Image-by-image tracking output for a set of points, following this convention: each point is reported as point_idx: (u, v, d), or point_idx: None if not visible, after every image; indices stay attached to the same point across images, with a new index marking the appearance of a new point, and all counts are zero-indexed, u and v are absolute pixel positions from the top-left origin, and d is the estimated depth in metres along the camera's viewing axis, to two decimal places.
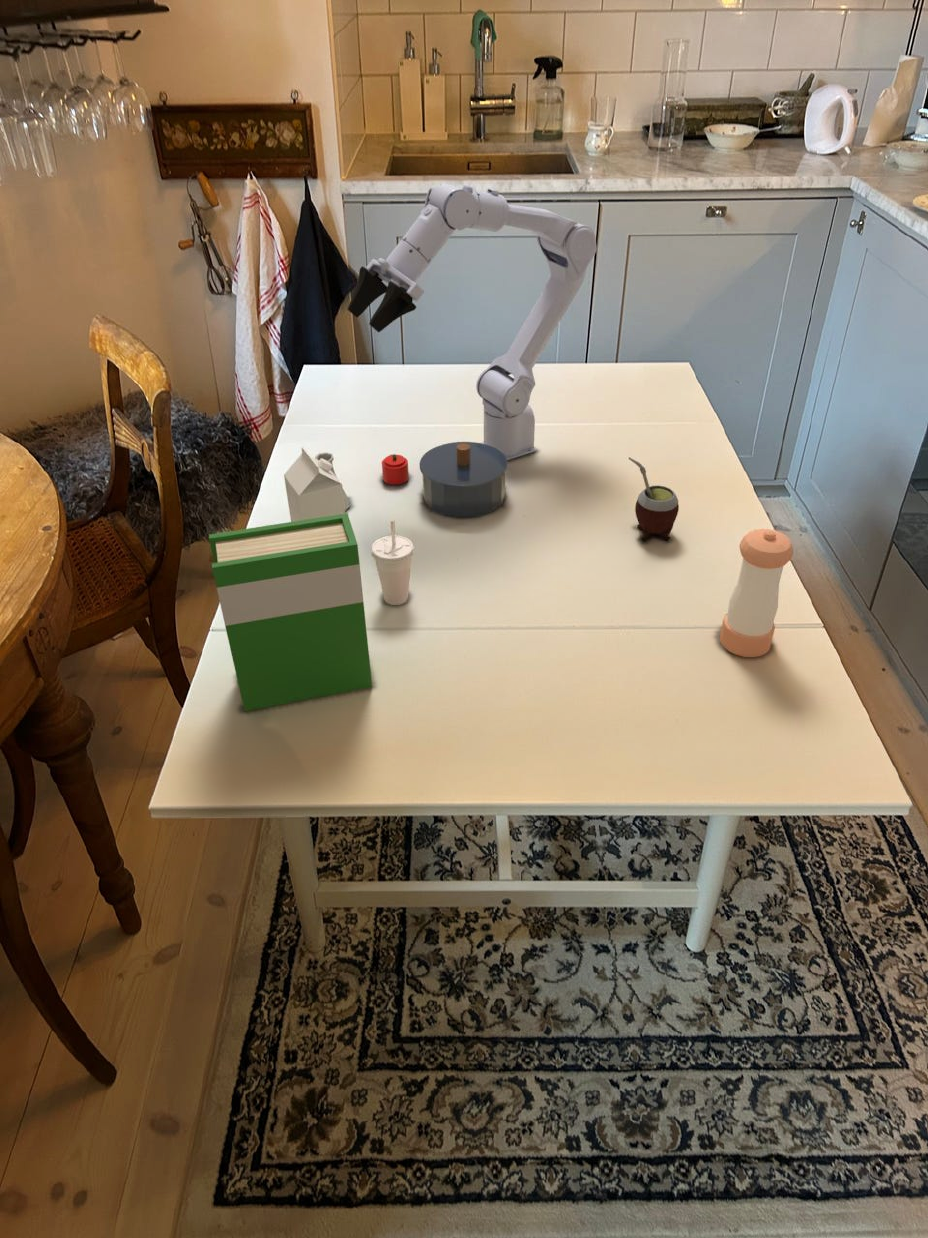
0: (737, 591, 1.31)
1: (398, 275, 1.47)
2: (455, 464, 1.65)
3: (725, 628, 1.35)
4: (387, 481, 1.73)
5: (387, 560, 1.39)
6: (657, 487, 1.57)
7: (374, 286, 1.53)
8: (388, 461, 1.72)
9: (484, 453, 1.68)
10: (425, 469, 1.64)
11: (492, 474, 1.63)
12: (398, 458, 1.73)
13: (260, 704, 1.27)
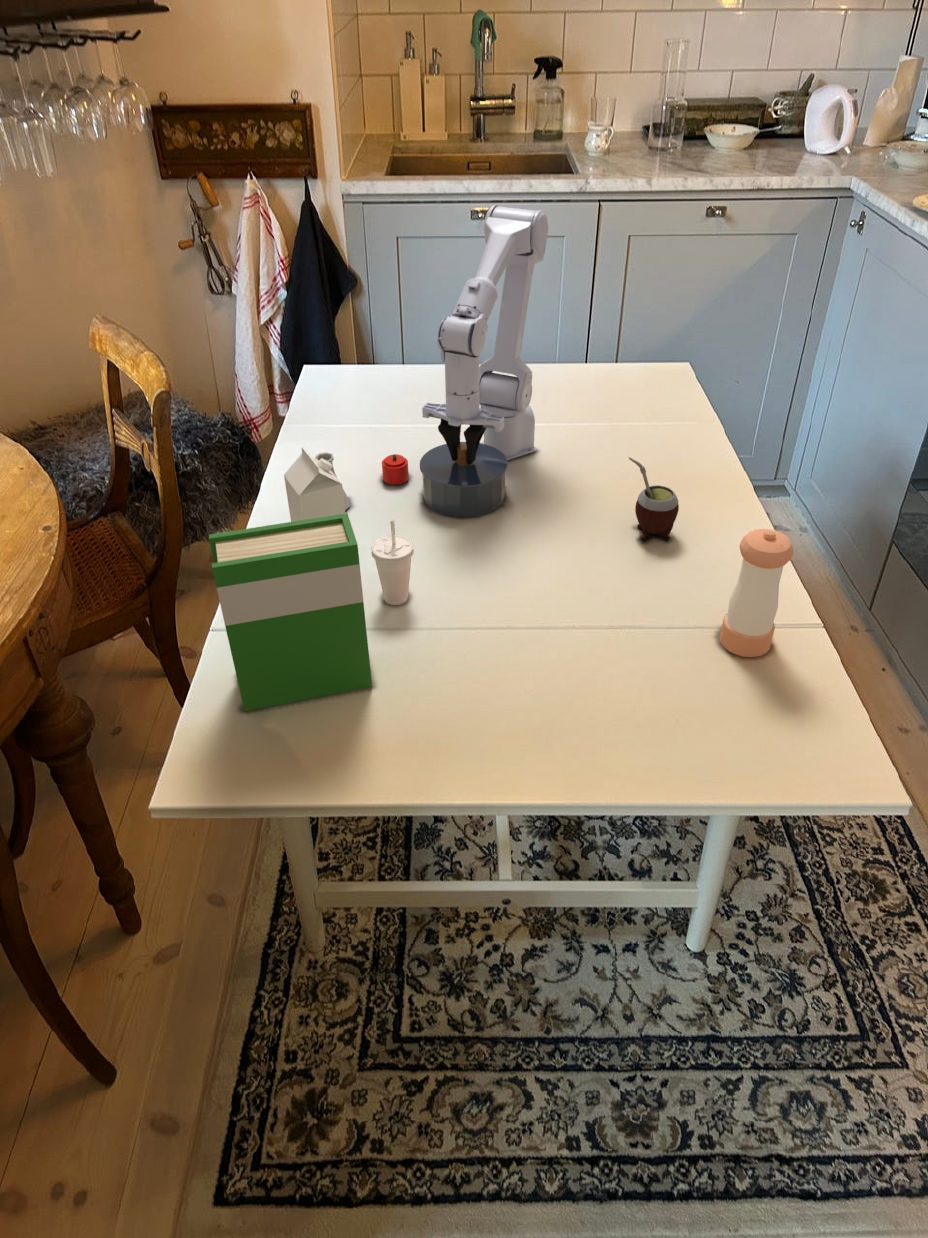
0: (737, 591, 1.31)
1: (476, 423, 1.58)
2: (455, 464, 1.65)
3: (725, 628, 1.35)
4: (387, 481, 1.73)
5: (387, 560, 1.39)
6: (657, 487, 1.57)
7: (456, 428, 1.63)
8: (388, 461, 1.72)
9: (484, 453, 1.68)
10: (425, 469, 1.64)
11: (492, 474, 1.63)
12: (398, 458, 1.73)
13: (260, 704, 1.27)
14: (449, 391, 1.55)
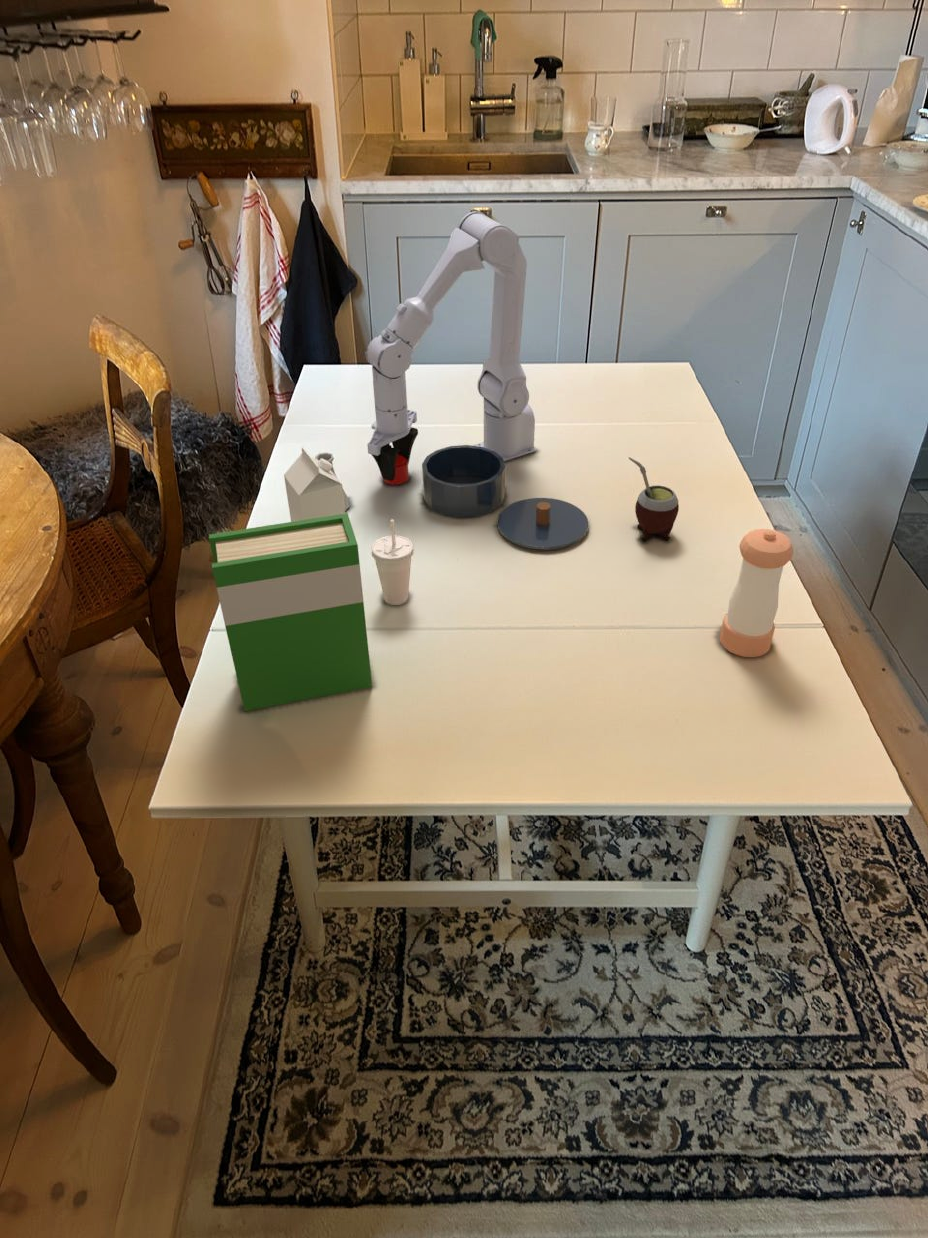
0: (737, 591, 1.31)
1: None
2: (534, 523, 1.61)
3: (725, 628, 1.35)
4: (387, 481, 1.73)
5: (387, 560, 1.39)
6: (657, 487, 1.57)
7: (401, 439, 1.72)
8: None
9: (563, 511, 1.64)
10: (504, 529, 1.59)
11: (574, 534, 1.58)
12: (398, 458, 1.73)
13: (260, 704, 1.27)
14: None
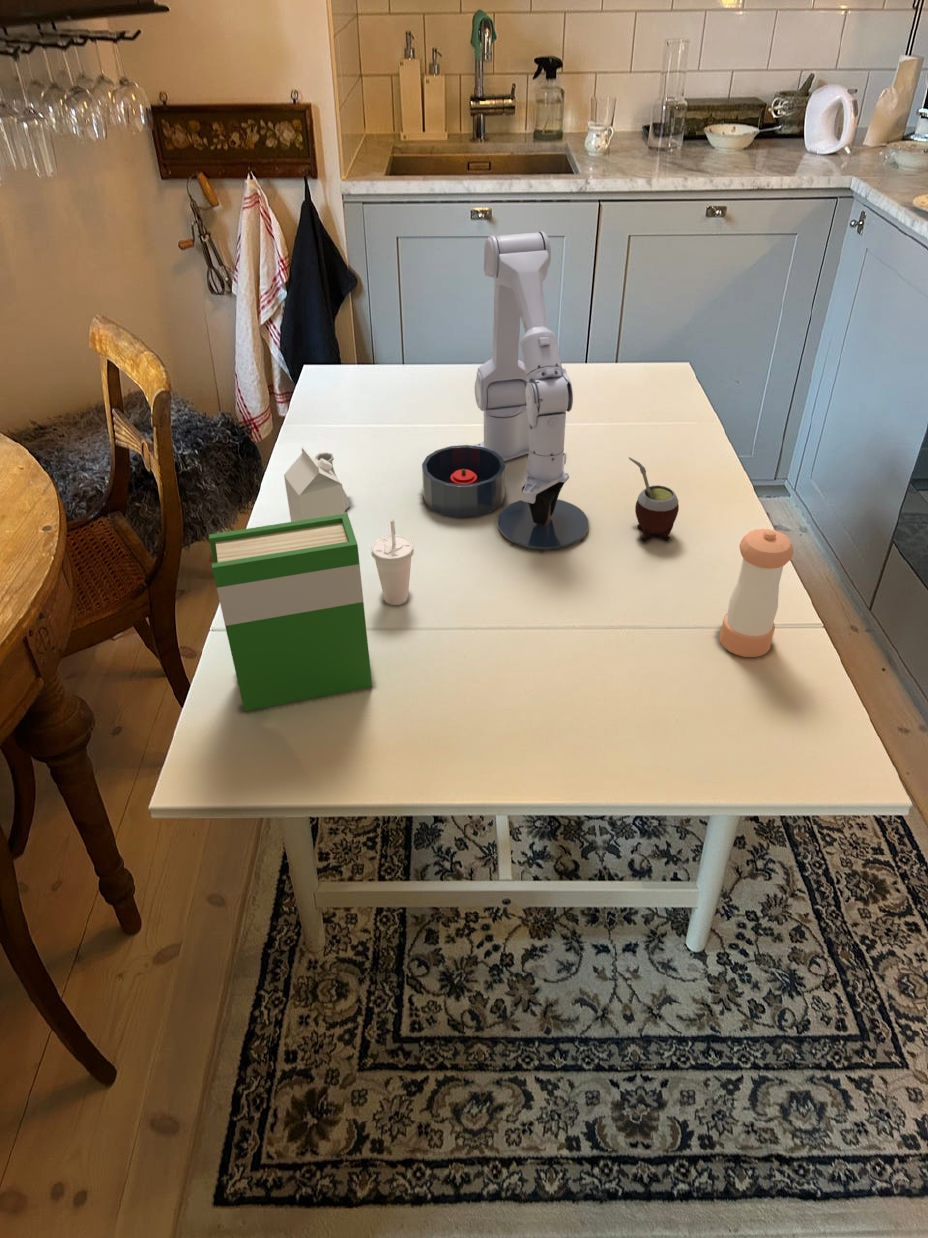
0: (737, 591, 1.31)
1: None
2: (534, 523, 1.61)
3: (725, 628, 1.35)
4: None
5: (387, 560, 1.39)
6: (657, 487, 1.57)
7: None
8: (457, 476, 1.67)
9: (563, 510, 1.64)
10: (504, 528, 1.60)
11: (574, 534, 1.58)
12: (467, 473, 1.68)
13: (260, 704, 1.27)
14: (544, 454, 1.50)
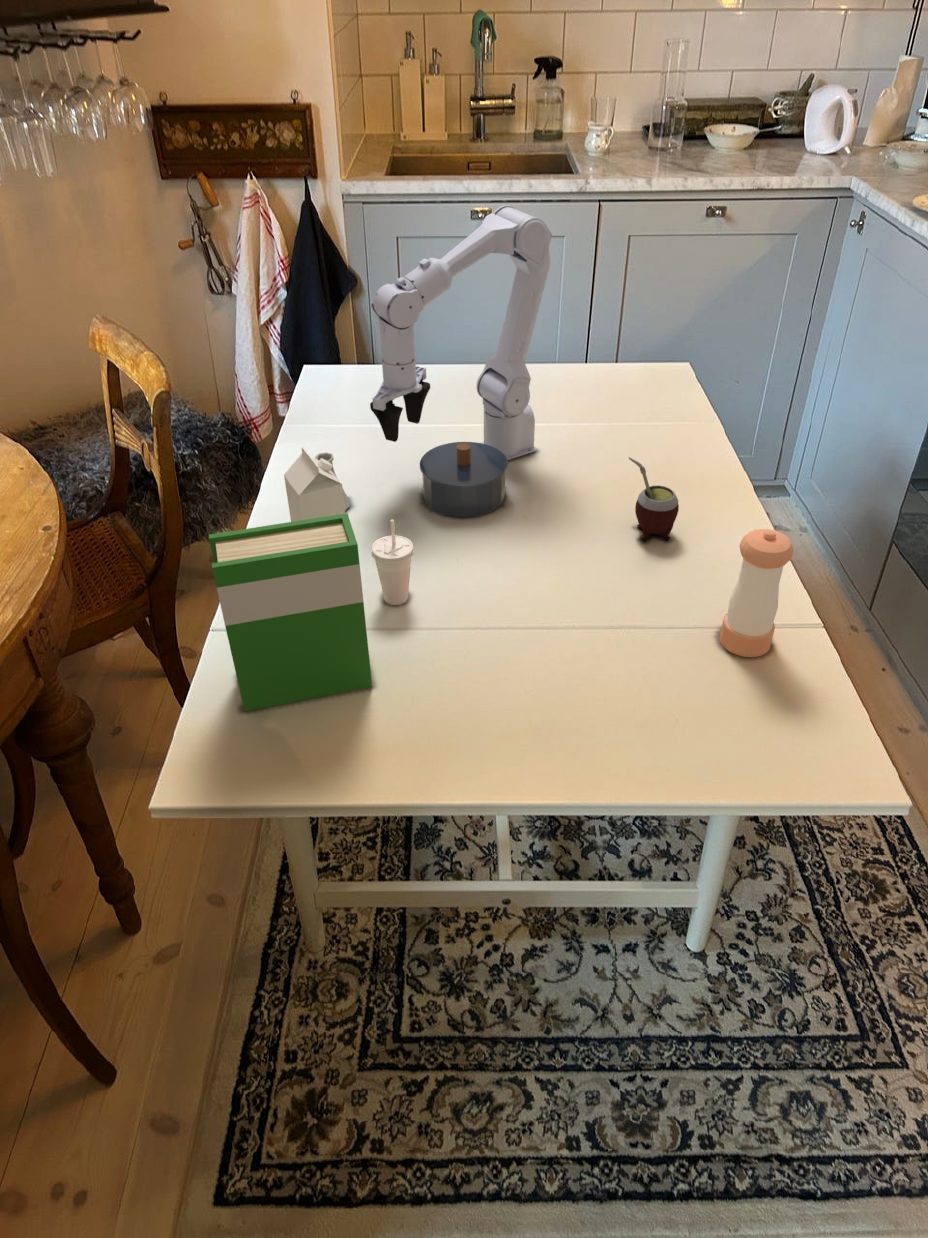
0: (737, 591, 1.31)
1: (420, 380, 1.64)
2: (455, 464, 1.65)
3: (725, 628, 1.35)
4: None
5: (387, 560, 1.39)
6: (657, 487, 1.57)
7: None
8: None
9: (484, 453, 1.68)
10: (425, 469, 1.64)
11: (492, 474, 1.63)
12: None
13: (260, 704, 1.27)
14: None
